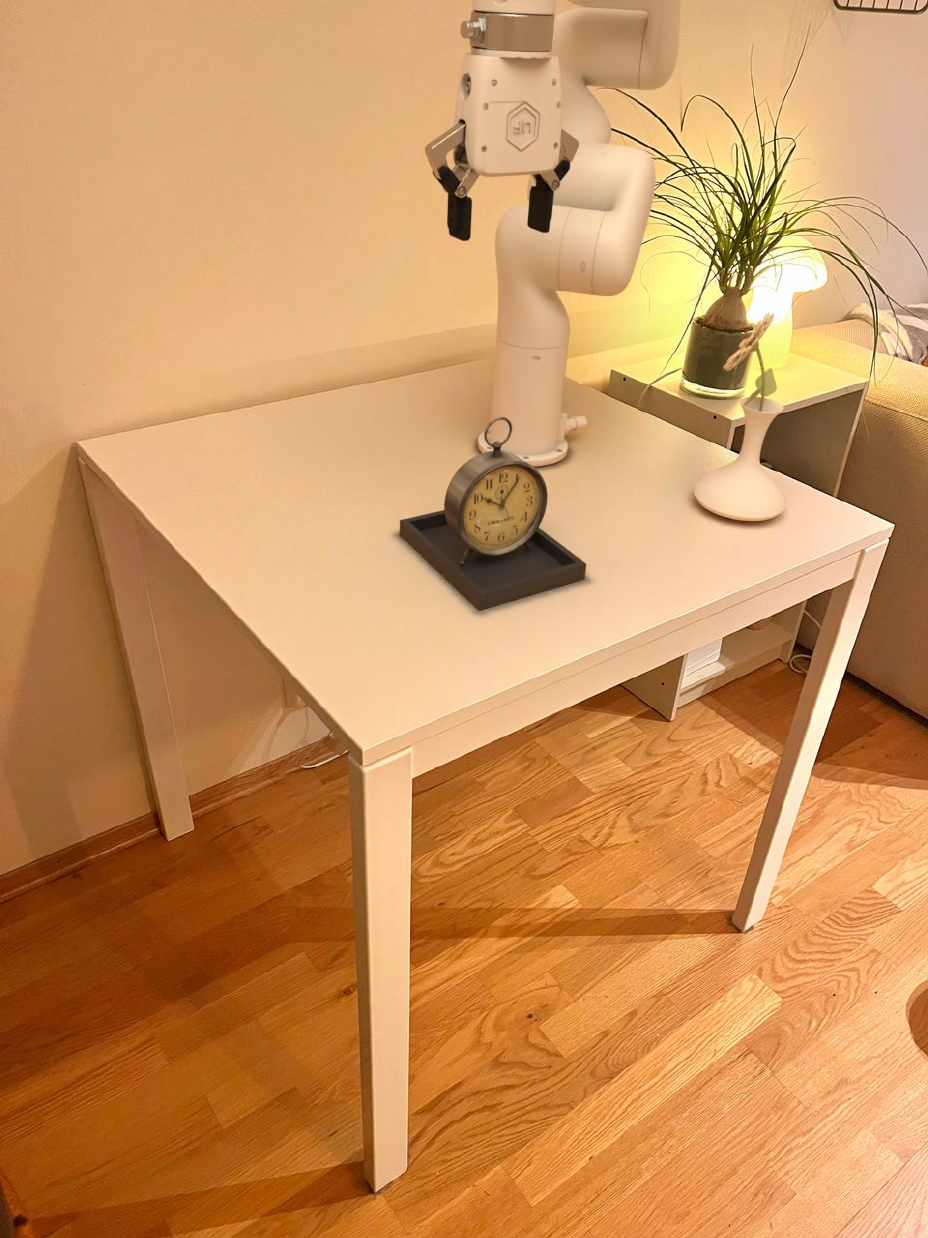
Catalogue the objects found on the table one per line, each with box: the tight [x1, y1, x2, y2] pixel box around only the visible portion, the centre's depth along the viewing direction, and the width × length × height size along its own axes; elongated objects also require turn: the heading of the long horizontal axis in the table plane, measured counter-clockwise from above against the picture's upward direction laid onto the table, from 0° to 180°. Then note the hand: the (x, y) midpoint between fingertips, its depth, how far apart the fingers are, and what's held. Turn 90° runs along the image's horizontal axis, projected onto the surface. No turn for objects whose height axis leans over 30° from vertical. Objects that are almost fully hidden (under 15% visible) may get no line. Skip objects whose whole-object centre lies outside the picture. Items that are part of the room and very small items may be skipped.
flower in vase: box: [693, 311, 787, 522], centre depth 108 cm, size 13×11×25 cm
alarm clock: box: [443, 417, 548, 566], centre depth 98 cm, size 11×5×16 cm, turn 117°
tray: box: [399, 509, 587, 611], centre depth 102 cm, size 14×18×2 cm
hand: (499, 233), depth 94 cm, fingers open, 9 cm apart
